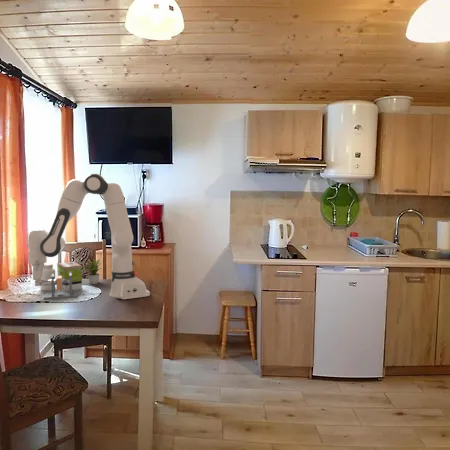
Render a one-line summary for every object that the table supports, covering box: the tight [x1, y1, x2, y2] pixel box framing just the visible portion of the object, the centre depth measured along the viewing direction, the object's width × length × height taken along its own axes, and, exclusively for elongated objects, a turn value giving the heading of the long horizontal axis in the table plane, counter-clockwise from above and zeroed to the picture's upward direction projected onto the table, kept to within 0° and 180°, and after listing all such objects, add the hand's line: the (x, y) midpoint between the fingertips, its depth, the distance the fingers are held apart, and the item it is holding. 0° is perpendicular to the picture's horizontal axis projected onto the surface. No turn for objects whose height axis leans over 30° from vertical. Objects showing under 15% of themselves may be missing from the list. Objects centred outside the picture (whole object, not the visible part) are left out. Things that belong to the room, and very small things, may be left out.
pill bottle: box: [40, 263, 56, 291], centre depth 236 cm, size 8×8×15 cm
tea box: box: [56, 261, 83, 292], centre depth 240 cm, size 15×10×15 cm
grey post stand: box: [43, 273, 78, 300], centre depth 222 cm, size 17×10×12 cm, turn 111°
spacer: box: [55, 275, 63, 292], centre depth 222 cm, size 3×7×7 cm, turn 21°
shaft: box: [34, 278, 69, 287], centre depth 220 cm, size 18×3×3 cm, turn 111°
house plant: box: [81, 258, 104, 285], centre depth 252 cm, size 14×14×16 cm
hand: (38, 284), depth 218 cm, fingers closed on shaft, 3 cm apart
